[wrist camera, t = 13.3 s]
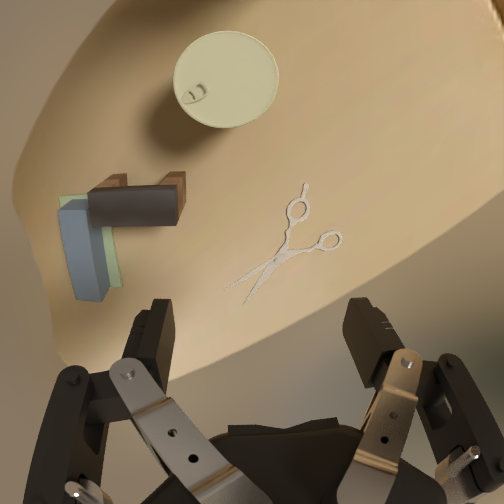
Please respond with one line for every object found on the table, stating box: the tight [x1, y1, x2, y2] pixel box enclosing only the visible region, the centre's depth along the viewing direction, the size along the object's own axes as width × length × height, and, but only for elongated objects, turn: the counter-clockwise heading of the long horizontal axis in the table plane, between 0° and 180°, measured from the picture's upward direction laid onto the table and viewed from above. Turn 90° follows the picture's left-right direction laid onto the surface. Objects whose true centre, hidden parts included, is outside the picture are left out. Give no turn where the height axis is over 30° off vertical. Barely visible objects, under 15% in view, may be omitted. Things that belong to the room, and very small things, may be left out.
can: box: [173, 31, 279, 128], centre depth 28 cm, size 9×9×12 cm
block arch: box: [87, 171, 186, 227], centre depth 34 cm, size 4×10×8 cm, turn 88°
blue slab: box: [58, 199, 111, 302], centre depth 39 cm, size 14×4×4 cm, turn 175°
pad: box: [59, 194, 123, 288], centre depth 41 cm, size 15×8×1 cm, turn 178°
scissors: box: [224, 183, 342, 303], centre depth 44 cm, size 11×1×20 cm
